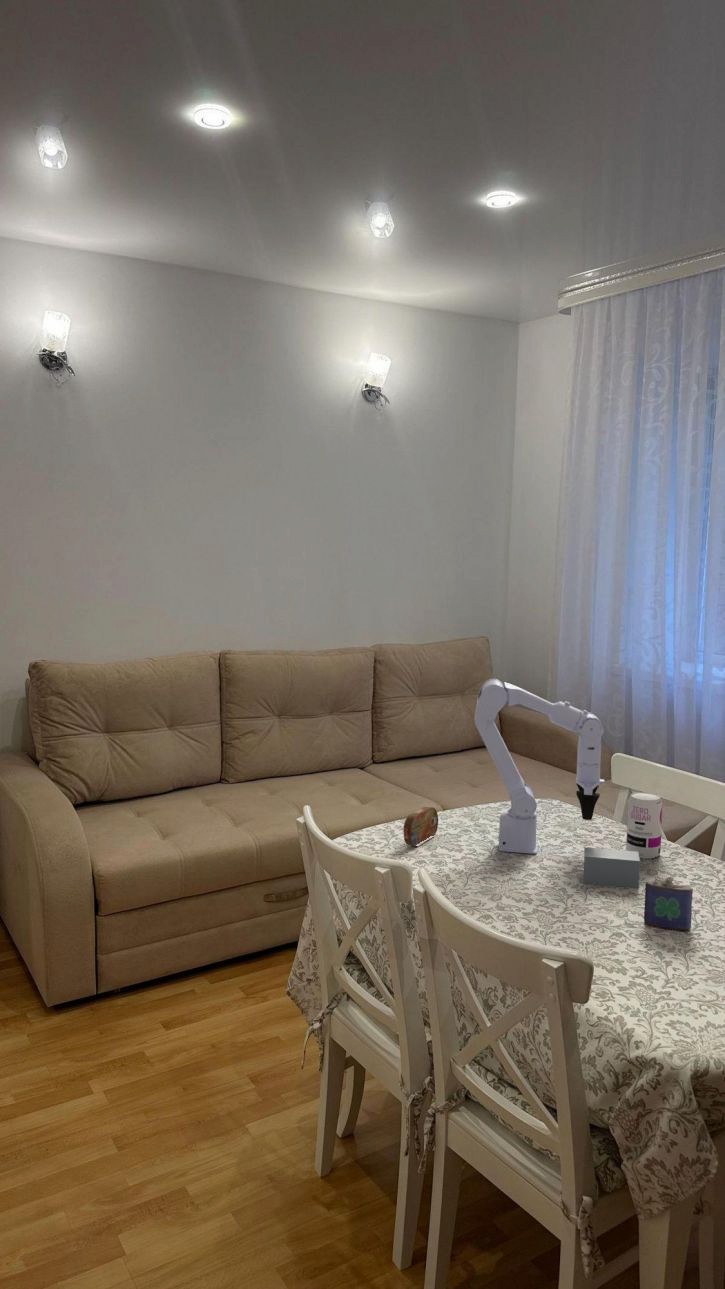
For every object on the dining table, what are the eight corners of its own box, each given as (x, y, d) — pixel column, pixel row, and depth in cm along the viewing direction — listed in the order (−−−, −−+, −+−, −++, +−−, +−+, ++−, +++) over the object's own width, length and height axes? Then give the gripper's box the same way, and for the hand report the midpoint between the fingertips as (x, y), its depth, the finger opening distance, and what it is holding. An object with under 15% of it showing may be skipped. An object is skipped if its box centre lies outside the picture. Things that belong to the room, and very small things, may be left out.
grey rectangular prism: (583, 883, 210) (584, 856, 209) (583, 873, 216) (584, 847, 215) (638, 888, 207) (639, 861, 206) (637, 878, 213) (638, 851, 212)
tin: (411, 851, 230) (412, 819, 229) (401, 849, 232) (401, 817, 231) (439, 834, 243) (439, 804, 242) (428, 832, 245) (429, 802, 244)
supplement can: (656, 849, 232) (658, 791, 230) (663, 860, 224) (666, 801, 222) (623, 847, 233) (625, 791, 231) (629, 859, 225) (632, 800, 223)
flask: (691, 927, 186) (693, 877, 185) (690, 933, 184) (692, 882, 182) (644, 920, 190) (646, 871, 188) (642, 926, 187) (644, 876, 186)
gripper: (606, 770, 220) (604, 825, 222) (604, 756, 234) (602, 807, 236) (576, 768, 222) (574, 822, 223) (576, 754, 236) (574, 805, 237)
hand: (587, 814), depth 230 cm, fingers open, 7 cm apart
